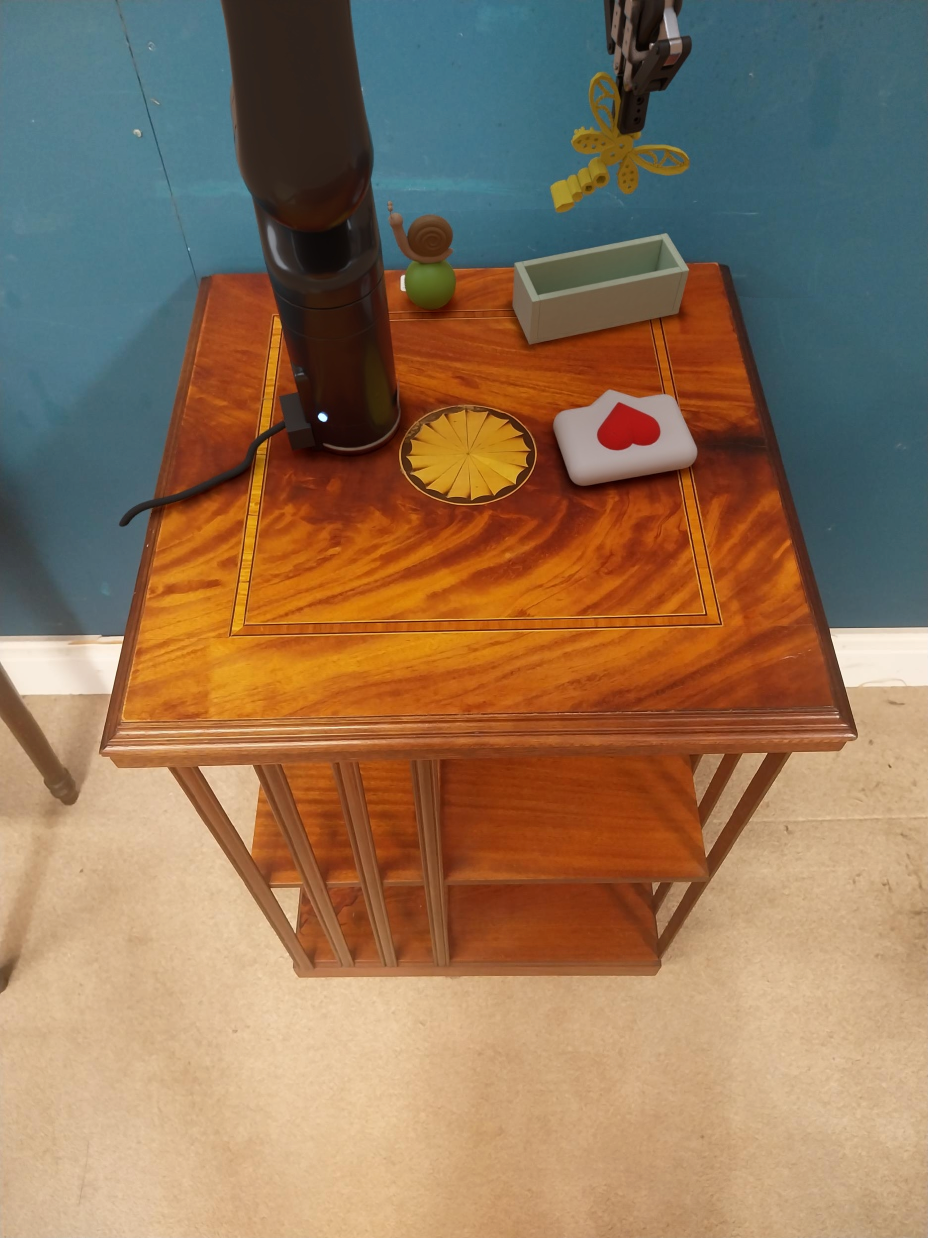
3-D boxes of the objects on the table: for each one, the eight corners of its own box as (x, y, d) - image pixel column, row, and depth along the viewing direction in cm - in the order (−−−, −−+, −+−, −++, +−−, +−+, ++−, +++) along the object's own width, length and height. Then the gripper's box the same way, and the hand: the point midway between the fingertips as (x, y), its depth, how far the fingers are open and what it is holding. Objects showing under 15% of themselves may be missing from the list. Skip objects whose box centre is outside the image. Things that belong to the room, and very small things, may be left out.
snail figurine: (395, 288, 93) (385, 186, 82) (453, 283, 93) (451, 180, 82) (398, 323, 90) (388, 221, 79) (459, 318, 90) (456, 216, 80)
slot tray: (529, 344, 88) (532, 301, 83) (512, 306, 91) (514, 262, 86) (678, 313, 90) (689, 269, 85) (657, 276, 93) (666, 232, 88)
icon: (672, 362, 81) (708, 441, 76) (663, 394, 84) (697, 471, 80) (548, 382, 80) (576, 463, 75) (544, 414, 83) (571, 494, 79)
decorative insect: (603, 231, 82) (690, 155, 76) (610, 255, 81) (699, 179, 75) (511, 155, 74) (600, 62, 68) (516, 180, 72) (608, 87, 66)
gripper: (580, -165, 60) (560, 90, 75) (649, -79, 53) (612, 181, 68) (680, -179, 61) (640, 76, 76) (760, -96, 54) (699, 165, 69)
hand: (627, 125), depth 72 cm, fingers closed on decorative insect, 1 cm apart
